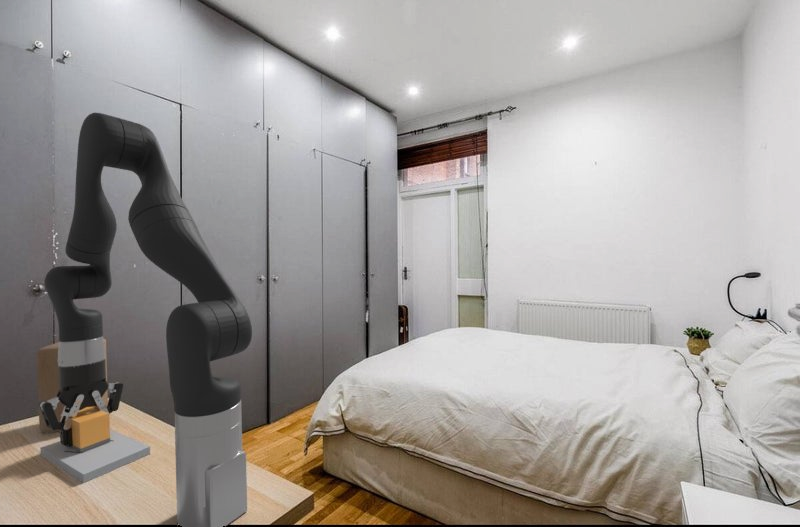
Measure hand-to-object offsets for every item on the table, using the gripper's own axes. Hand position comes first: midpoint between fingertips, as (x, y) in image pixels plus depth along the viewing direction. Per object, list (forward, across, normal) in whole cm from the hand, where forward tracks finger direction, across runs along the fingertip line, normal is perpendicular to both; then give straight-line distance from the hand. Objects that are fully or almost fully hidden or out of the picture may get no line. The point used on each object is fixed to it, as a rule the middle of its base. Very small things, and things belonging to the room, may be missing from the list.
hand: (85, 439), depth 78 cm
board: (+2, 0, -4) cm, 5 cm away
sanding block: (0, 0, 0) cm, 1 cm away
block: (+2, +4, +18) cm, 18 cm away
